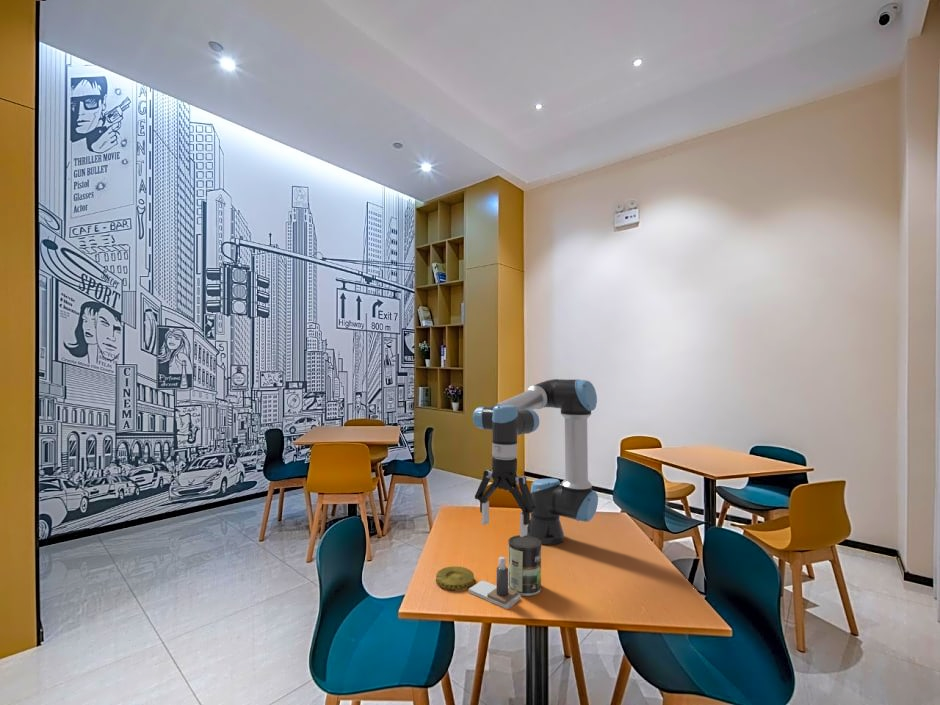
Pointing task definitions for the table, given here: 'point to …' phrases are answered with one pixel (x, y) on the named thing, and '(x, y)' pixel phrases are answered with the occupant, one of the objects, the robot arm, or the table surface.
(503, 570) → the grey white-capped bottle
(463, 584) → the olive gold disc
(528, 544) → the coffee can
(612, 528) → the table surface
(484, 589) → the white and brown box
